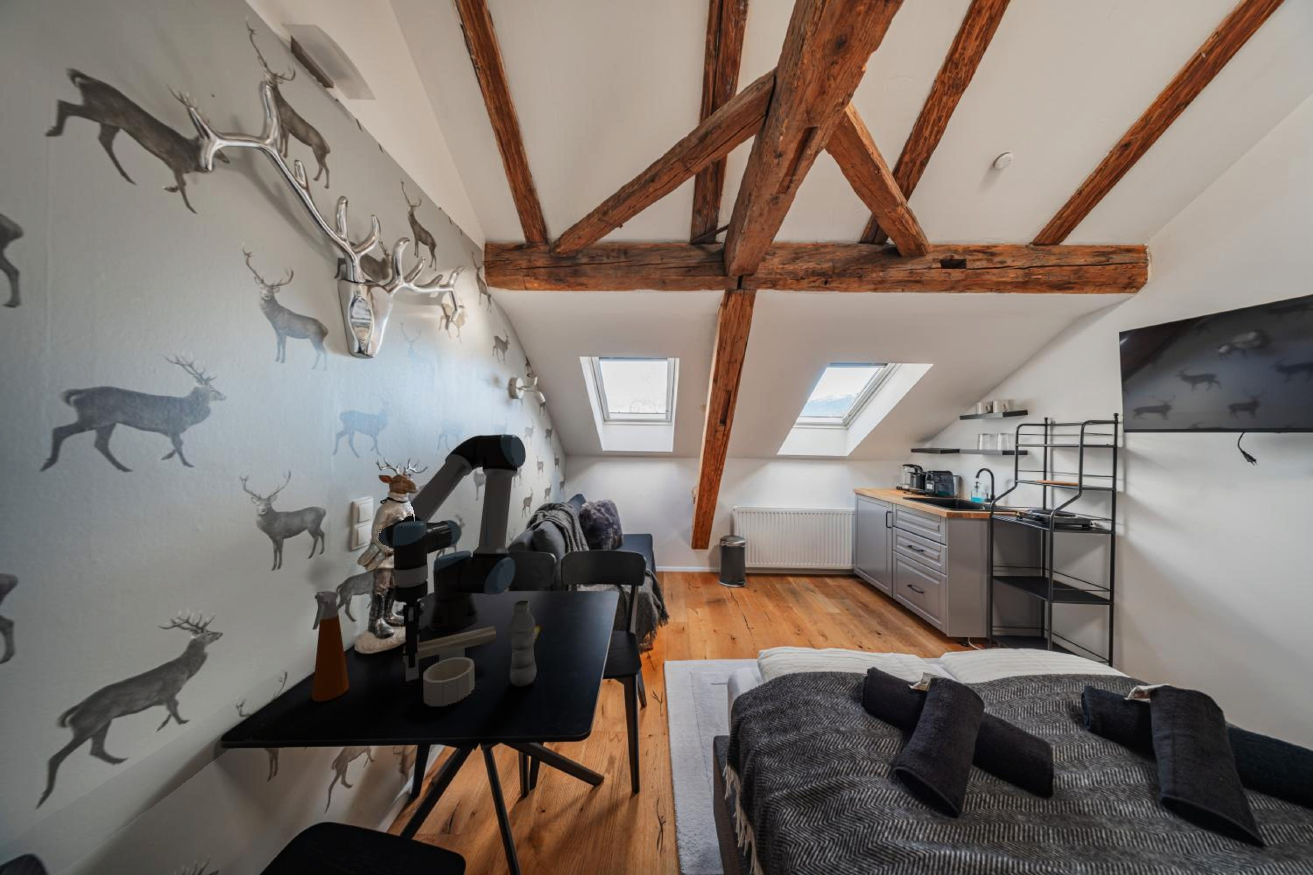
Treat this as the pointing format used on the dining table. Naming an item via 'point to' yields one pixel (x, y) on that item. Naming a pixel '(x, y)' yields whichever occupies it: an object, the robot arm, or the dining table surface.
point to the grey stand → (452, 654)
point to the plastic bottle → (522, 645)
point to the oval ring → (448, 681)
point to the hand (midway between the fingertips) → (413, 669)
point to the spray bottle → (329, 650)
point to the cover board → (455, 642)
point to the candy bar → (536, 631)
